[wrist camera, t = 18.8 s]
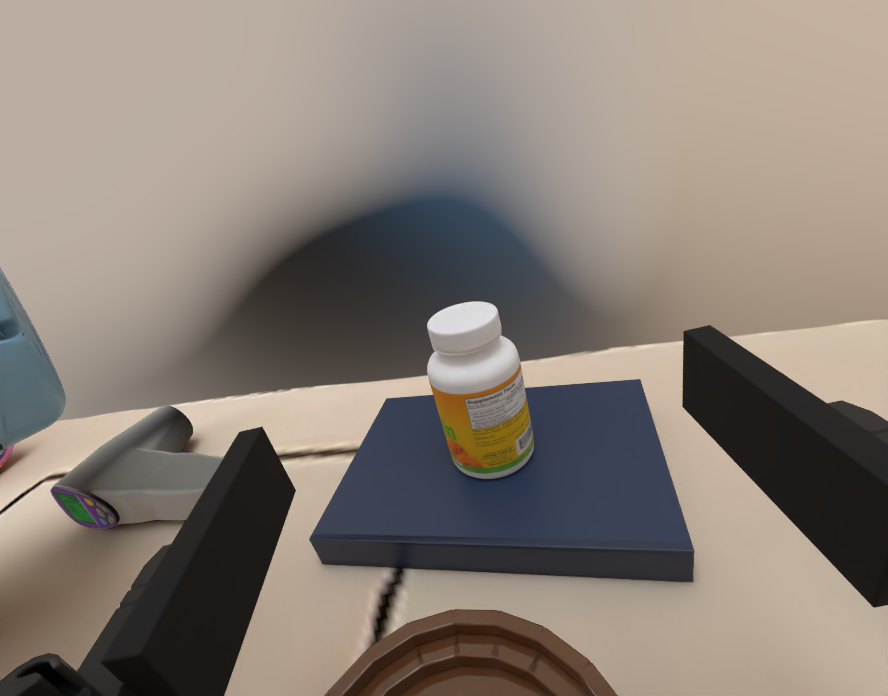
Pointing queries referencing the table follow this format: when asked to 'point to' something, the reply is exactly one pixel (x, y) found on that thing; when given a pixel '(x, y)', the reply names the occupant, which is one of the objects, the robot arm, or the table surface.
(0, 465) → the pencil case
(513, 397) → the supplement bottle
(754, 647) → the table surface
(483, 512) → the book
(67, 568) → the table surface
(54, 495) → the infrared thermometer
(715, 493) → the table surface
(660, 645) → the table surface
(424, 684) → the brown round tray
